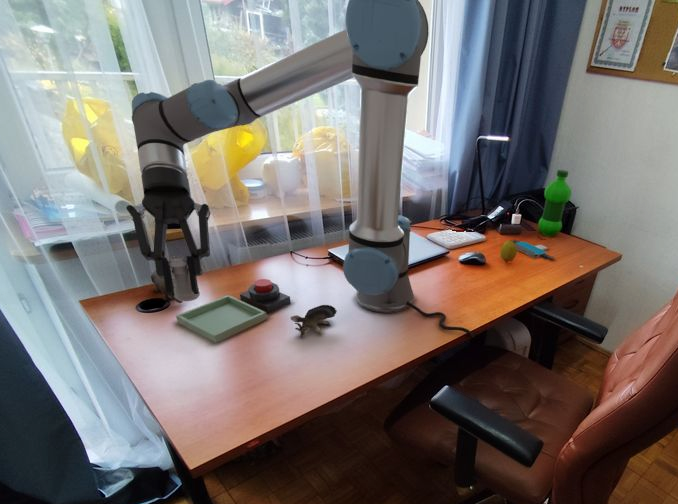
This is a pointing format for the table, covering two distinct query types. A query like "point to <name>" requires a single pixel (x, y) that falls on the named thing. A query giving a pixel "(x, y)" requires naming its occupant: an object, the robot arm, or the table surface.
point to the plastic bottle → (554, 204)
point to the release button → (263, 285)
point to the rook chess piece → (182, 279)
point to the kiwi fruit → (508, 251)
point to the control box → (265, 299)
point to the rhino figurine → (162, 286)
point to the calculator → (455, 238)
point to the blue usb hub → (532, 249)
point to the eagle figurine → (314, 318)
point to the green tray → (221, 318)
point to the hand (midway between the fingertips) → (183, 292)
